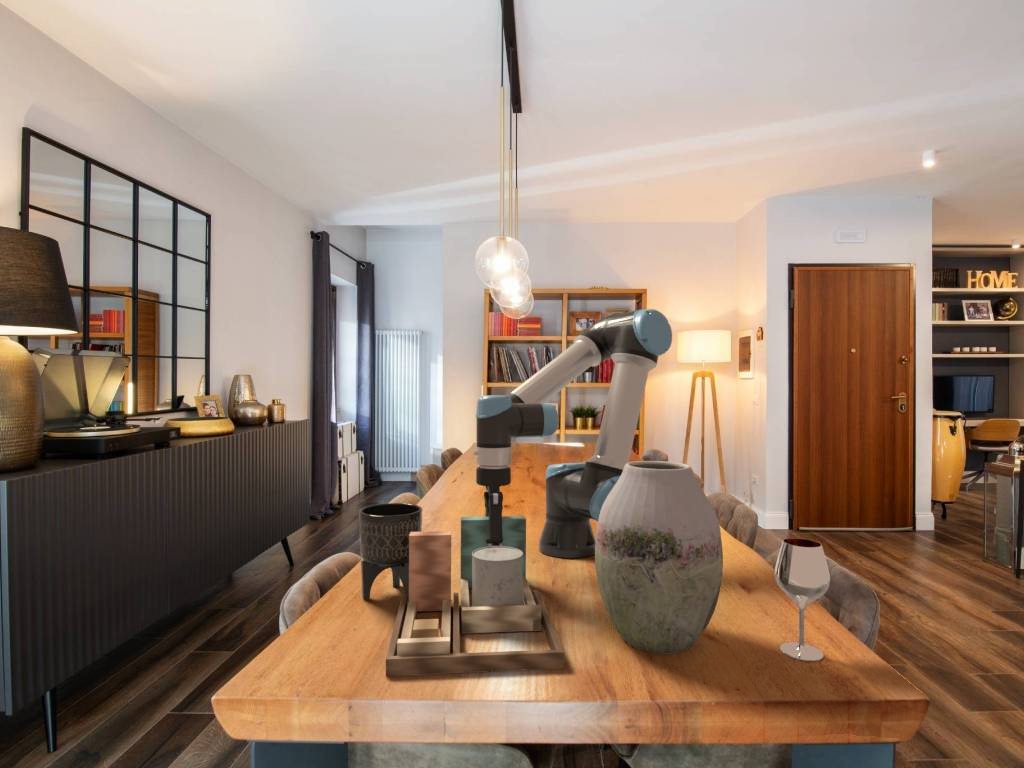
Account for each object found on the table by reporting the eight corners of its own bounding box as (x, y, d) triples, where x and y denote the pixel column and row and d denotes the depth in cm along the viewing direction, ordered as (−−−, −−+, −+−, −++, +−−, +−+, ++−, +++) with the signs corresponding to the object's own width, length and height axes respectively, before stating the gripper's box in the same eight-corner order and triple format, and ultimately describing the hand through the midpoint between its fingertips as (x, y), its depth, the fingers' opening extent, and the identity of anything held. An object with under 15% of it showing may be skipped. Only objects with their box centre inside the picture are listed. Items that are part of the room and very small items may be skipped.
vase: (750, 658, 93) (751, 471, 93) (631, 677, 87) (632, 476, 87) (676, 609, 113) (677, 455, 113) (575, 621, 107) (576, 459, 107)
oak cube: (438, 642, 98) (438, 618, 98) (437, 653, 94) (437, 628, 94) (414, 643, 98) (414, 619, 98) (412, 654, 94) (412, 629, 94)
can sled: (524, 581, 128) (524, 516, 128) (541, 630, 102) (541, 548, 102) (460, 583, 126) (460, 517, 126) (461, 633, 101) (462, 550, 101)
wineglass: (764, 642, 99) (765, 536, 99) (810, 640, 99) (810, 535, 99) (791, 665, 91) (792, 550, 91) (841, 663, 91) (841, 549, 91)
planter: (366, 611, 111) (367, 518, 111) (352, 589, 123) (352, 506, 123) (430, 599, 117) (431, 512, 117) (411, 580, 129) (411, 500, 129)
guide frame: (538, 602, 116) (538, 590, 116) (563, 668, 89) (563, 652, 89) (402, 607, 113) (402, 594, 113) (385, 676, 86) (385, 659, 86)
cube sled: (450, 604, 114) (451, 531, 114) (449, 667, 89) (450, 572, 89) (409, 605, 113) (410, 531, 113) (396, 669, 88) (397, 574, 88)
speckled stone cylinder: (527, 611, 111) (528, 548, 111) (515, 632, 102) (516, 562, 102) (480, 606, 114) (480, 544, 114) (464, 626, 104) (464, 558, 104)
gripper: (474, 458, 138) (473, 548, 138) (478, 475, 113) (478, 584, 113) (505, 458, 138) (505, 547, 138) (516, 474, 114) (516, 583, 114)
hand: (493, 564), depth 126 cm, fingers open, 13 cm apart
